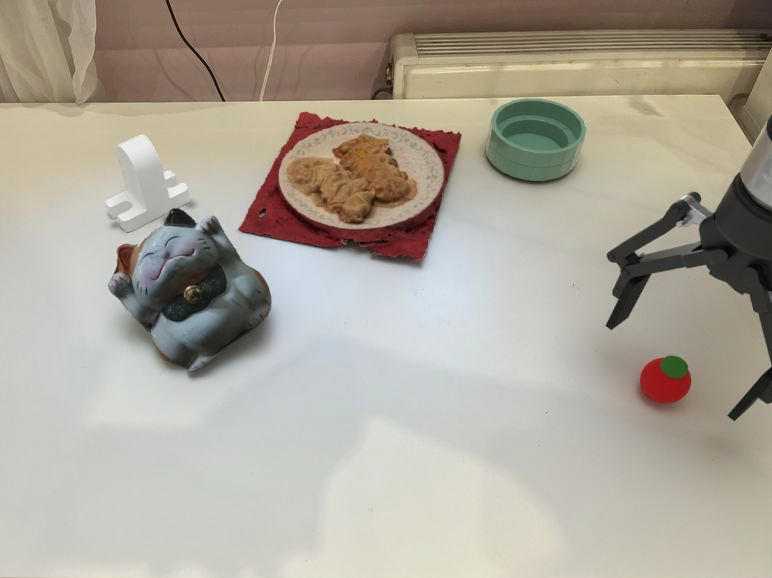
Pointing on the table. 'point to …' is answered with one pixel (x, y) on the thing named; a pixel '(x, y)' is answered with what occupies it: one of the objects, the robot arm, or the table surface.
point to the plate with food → (355, 185)
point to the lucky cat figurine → (190, 289)
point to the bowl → (535, 139)
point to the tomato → (666, 379)
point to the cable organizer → (144, 186)
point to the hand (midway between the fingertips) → (674, 364)
